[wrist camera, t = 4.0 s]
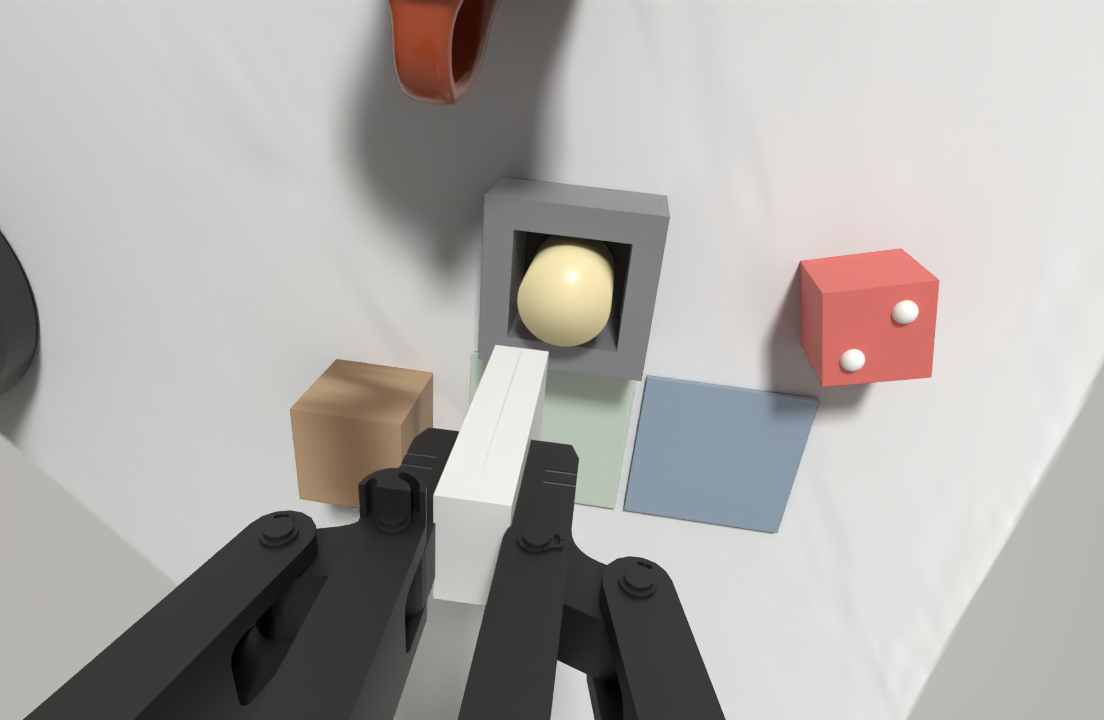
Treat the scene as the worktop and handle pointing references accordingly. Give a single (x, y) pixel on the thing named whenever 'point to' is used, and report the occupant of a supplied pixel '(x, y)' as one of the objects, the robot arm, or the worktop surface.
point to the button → (567, 290)
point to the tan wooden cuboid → (356, 426)
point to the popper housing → (580, 216)
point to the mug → (440, 46)
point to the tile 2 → (717, 453)
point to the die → (868, 317)
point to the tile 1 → (584, 425)
